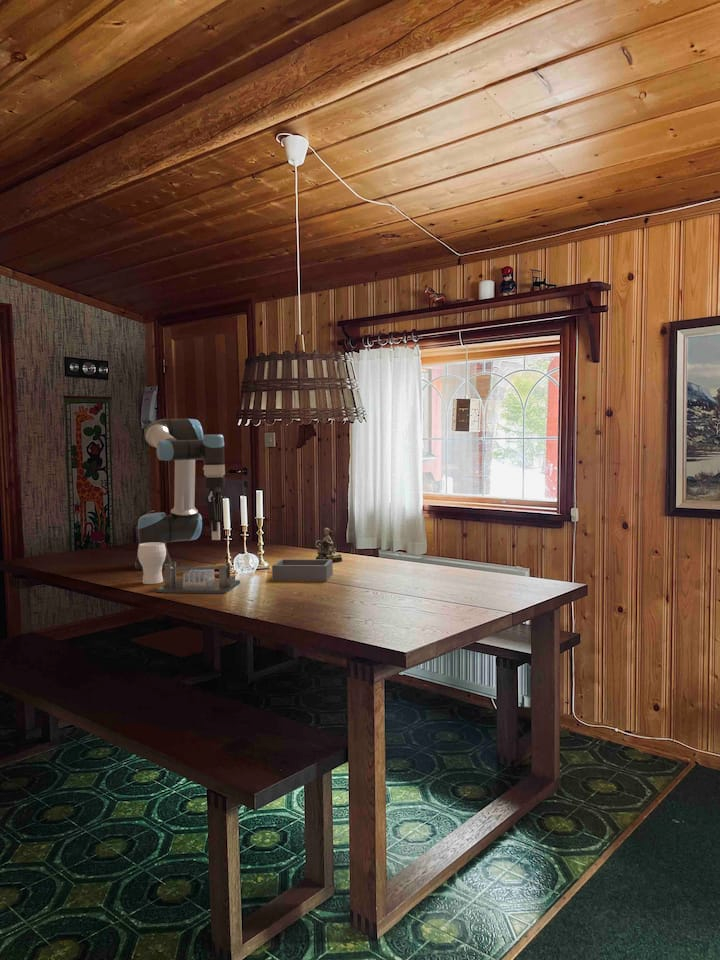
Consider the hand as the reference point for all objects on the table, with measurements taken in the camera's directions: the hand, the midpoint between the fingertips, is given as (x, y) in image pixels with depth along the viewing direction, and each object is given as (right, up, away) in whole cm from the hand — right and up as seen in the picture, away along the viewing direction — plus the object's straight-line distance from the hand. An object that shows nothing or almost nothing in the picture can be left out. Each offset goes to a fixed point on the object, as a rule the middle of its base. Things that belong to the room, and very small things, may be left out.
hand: (216, 539), depth 270 cm
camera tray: (+31, -17, +19) cm, 40 cm away
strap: (-7, -12, +2) cm, 14 cm away
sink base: (-7, -18, +2) cm, 19 cm away
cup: (-27, -18, +14) cm, 35 cm away
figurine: (+40, -15, +55) cm, 70 cm away
